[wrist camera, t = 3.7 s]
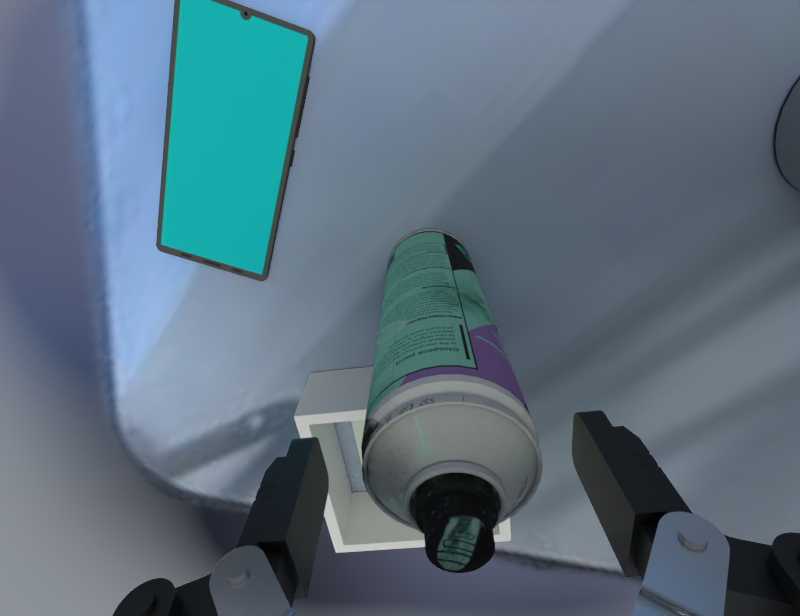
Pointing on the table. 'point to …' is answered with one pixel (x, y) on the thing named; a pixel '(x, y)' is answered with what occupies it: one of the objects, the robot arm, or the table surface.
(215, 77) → the smartphone
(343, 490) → the white square tray
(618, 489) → the robot arm
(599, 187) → the table surface
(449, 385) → the spray can
